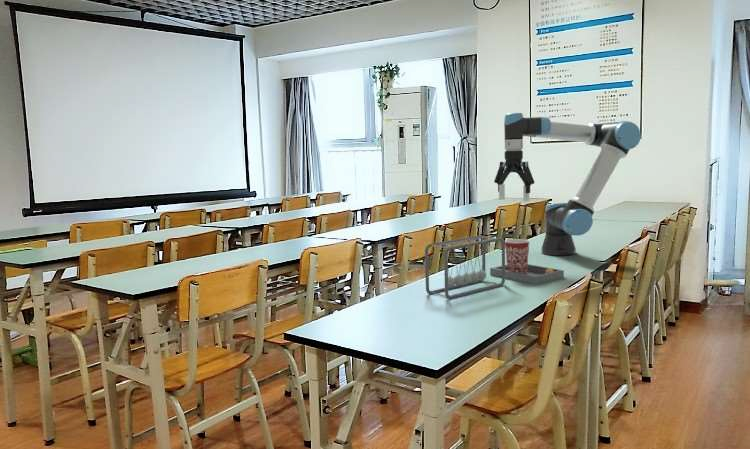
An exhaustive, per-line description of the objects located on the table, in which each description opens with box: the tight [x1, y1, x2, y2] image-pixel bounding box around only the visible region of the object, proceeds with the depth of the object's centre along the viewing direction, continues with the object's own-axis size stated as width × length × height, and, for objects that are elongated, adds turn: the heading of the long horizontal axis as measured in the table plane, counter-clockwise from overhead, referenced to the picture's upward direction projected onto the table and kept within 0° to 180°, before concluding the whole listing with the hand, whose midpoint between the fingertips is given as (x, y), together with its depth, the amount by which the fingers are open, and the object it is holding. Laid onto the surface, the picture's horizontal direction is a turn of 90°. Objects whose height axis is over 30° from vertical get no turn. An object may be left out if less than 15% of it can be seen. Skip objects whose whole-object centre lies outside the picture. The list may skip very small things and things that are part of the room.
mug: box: [504, 238, 530, 274], centre depth 228 cm, size 13×9×14 cm
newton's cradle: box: [424, 234, 506, 300], centre depth 209 cm, size 30×10×18 cm, turn 128°
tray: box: [489, 263, 565, 285], centre depth 226 cm, size 16×22×3 cm
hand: (513, 200), depth 254 cm, fingers open, 13 cm apart
